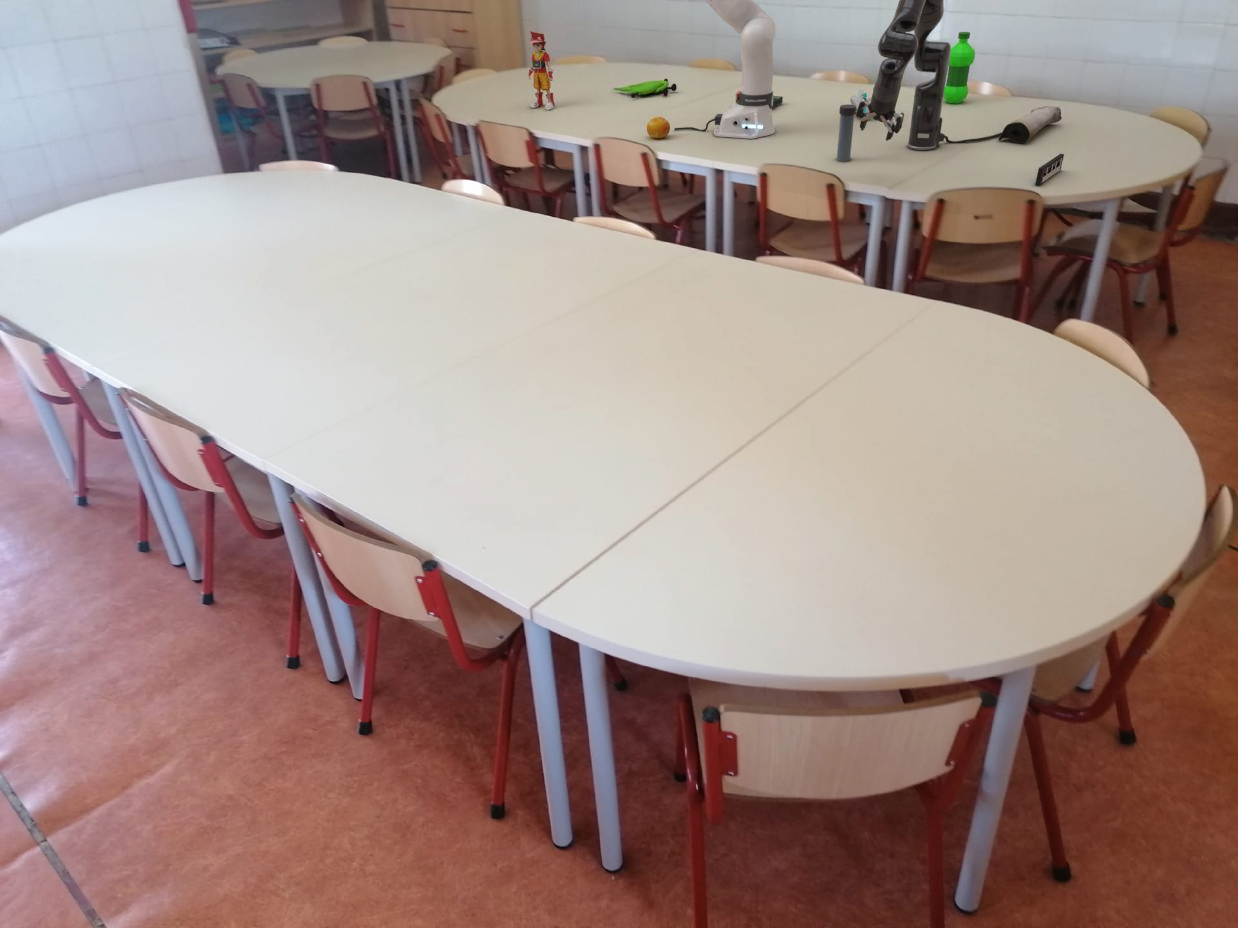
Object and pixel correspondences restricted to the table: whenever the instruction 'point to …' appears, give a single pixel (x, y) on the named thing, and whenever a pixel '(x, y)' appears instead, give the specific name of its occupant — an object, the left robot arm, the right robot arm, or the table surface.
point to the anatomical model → (858, 98)
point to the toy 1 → (541, 71)
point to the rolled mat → (1030, 124)
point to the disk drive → (777, 101)
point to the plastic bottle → (959, 70)
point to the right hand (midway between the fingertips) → (875, 134)
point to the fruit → (658, 127)
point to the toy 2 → (648, 88)
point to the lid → (847, 109)
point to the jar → (845, 137)
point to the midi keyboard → (1049, 169)
